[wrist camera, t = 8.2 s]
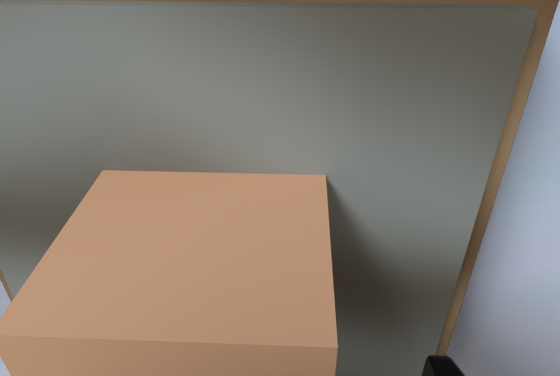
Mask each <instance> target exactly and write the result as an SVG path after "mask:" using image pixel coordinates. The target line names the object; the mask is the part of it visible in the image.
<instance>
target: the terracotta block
mask: <svg viewBox="0 0 560 376" xmlns="http://www.w3.org/2000/svg"><path fill="white" fill-rule="evenodd" d="M337 351H338V342H337V328H336V314H335V299H334V285H333V271H332V257H331V243H330V228H329V214H328V200H327V186H326V175H296V174H251V173H206V172H162V171H117V170H103V171H102V172H101V174H100V175H99V177H98V178H97V179H96V181H95V182H94V184H93V185H92V187H91V188H90V190H89V191H88V192H87V194H86V195H85V197H84V198H83V200H82V201H81V203H80V204H79V205H78V207H77V208H76V210H75V211H74V213H73V214H72V215H71V217H70V218H69V220H68V221H67V223H66V224H65V226H64V227H63V228H62V230H61V231H60V233H59V234H58V236H57V237H56V239H55V240H54V241H53V243H52V244H51V246H50V247H49V249H48V250H47V252H46V253H45V254H44V256H43V257H42V259H41V260H40V262H39V263H38V265H37V266H36V267H35V269H34V270H33V272H32V273H31V275H30V276H29V278H28V279H27V280H26V282H25V283H24V285H23V286H22V288H21V289H20V291H19V292H18V293H17V295H16V296H15V298H14V299H13V301H12V302H11V304H10V305H9V306H8V308H7V309H6V311H5V312H4V314H3V315H2V317H1V318H0V356H1V358H2V360H3V362H4V363H5V365H6V367H7V369H8V371H9V373H10V374H11V376H335V370H336V361H337Z"/></svg>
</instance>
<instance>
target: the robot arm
mask: <svg viewBox="0 0 560 376" xmlns="http://www.w3.org/2000/svg"><path fill="white" fill-rule="evenodd" d="M421 376H465V375H464V374H463V372H462V371H461V370H460V369H459V367H458V366H457V365H456V364H455V362H454V361H453V360H452V359H451V358H450V357H448V356H440V355H429V356H428V357H427V358H426V361H425V364H424V368H423V371H422V375H421Z"/></svg>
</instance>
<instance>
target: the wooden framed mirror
mask: <svg viewBox="0 0 560 376" xmlns="http://www.w3.org/2000/svg"><path fill="white" fill-rule="evenodd" d="M558 2H559V0H0V279H1V281H2V283H3V285H4V288H5V290H6V292H7V294H8V296H9V298H10V300H11V302H12V301H13V299H14V298H15V296H16V295H17V293H18V292H19V291H20V289H21V288H22V286H23V285H24V283H25V282H26V280H27V279H28V278H29V276H30V275H31V273H32V272H33V270H34V269H35V267H36V266H37V265H38V263H39V262H40V260H41V259H42V257H43V256H44V254H45V253H46V252H47V250H48V249H49V247H50V246H51V244H52V243H53V241H54V240H55V239H56V237H57V236H58V234H59V233H60V231H61V230H62V228H63V227H64V226H65V224H66V223H67V221H68V220H69V218H70V217H71V215H72V214H73V213H74V211H75V210H76V208H77V207H78V205H79V204H80V203H81V201H82V200H83V198H84V197H85V195H86V194H87V192H88V191H89V190H90V188H91V187H92V185H93V184H94V182H95V181H96V179H97V178H98V177H99V175H100V174H101V172H102V171H103V170H117V171H162V172H206V173H251V174H296V175H326V186H327V200H328V214H329V228H330V243H331V257H332V271H333V285H334V299H335V314H336V328H337V342H338V351H337V361H336V370H335V376H421V375H422V371H423V368H424V364H425V361H426V358H427V357H428V356H429V355H440V356H445V354H446V351H447V348H448V345H449V342H450V339H451V335H452V332H453V329H454V326H455V323H456V320H457V317H458V314H459V310H460V307H461V304H462V301H463V298H464V295H465V292H466V289H467V285H468V282H469V279H470V276H471V273H472V270H473V267H474V264H475V261H476V257H477V254H478V251H479V248H480V245H481V242H482V239H483V236H484V232H485V229H486V226H487V223H488V220H489V217H490V214H491V211H492V207H493V204H494V201H495V198H496V195H497V192H498V189H499V186H500V183H501V179H502V176H503V173H504V170H505V167H506V164H507V161H508V158H509V154H510V151H511V148H512V145H513V142H514V139H515V136H516V133H517V129H518V126H519V123H520V120H521V117H522V114H523V111H524V108H525V104H526V101H527V98H528V95H529V92H530V89H531V86H532V83H533V80H534V76H535V73H536V70H537V67H538V64H539V61H540V58H541V55H542V51H543V48H544V45H545V42H546V39H547V36H548V33H549V30H550V26H551V23H552V20H553V17H554V14H555V11H556V8H557V5H558Z"/></svg>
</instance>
